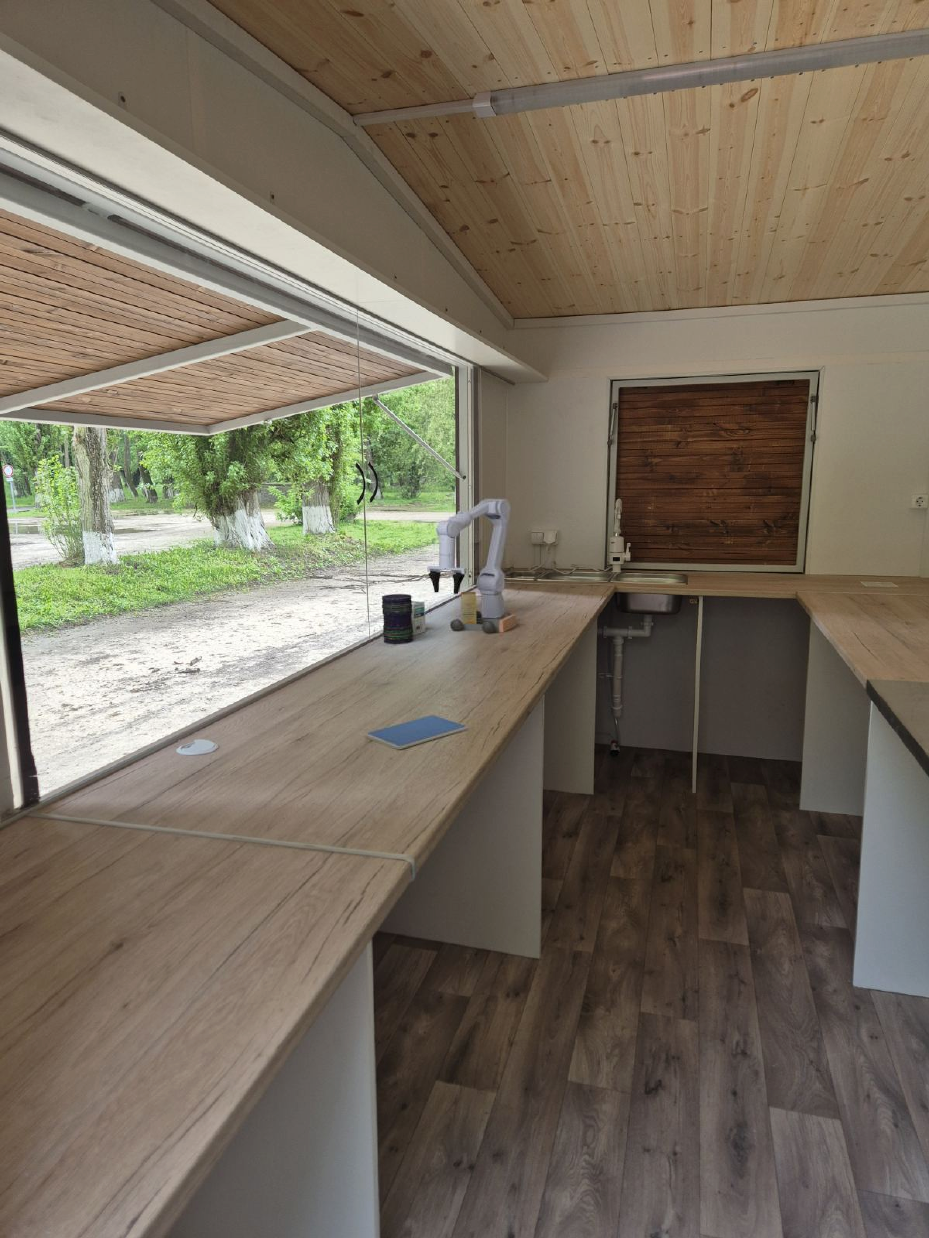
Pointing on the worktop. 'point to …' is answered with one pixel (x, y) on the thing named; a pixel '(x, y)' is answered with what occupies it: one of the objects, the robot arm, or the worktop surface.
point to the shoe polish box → (468, 607)
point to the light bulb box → (418, 617)
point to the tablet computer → (415, 732)
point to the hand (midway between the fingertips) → (446, 593)
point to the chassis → (486, 624)
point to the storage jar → (397, 619)
